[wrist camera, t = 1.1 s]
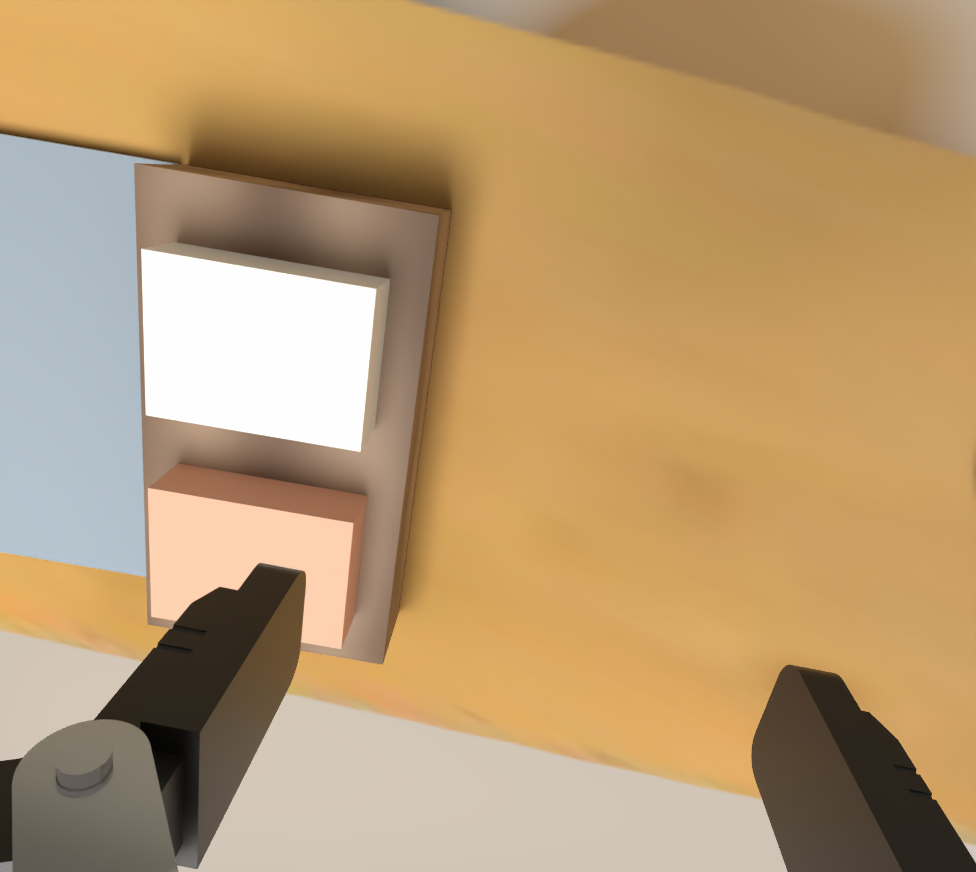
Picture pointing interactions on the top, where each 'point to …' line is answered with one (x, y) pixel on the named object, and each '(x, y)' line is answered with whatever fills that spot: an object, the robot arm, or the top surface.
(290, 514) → the terracotta tile
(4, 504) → the slate mat
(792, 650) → the top surface
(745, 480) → the top surface
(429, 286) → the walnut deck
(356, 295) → the cream tile
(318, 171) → the top surface
